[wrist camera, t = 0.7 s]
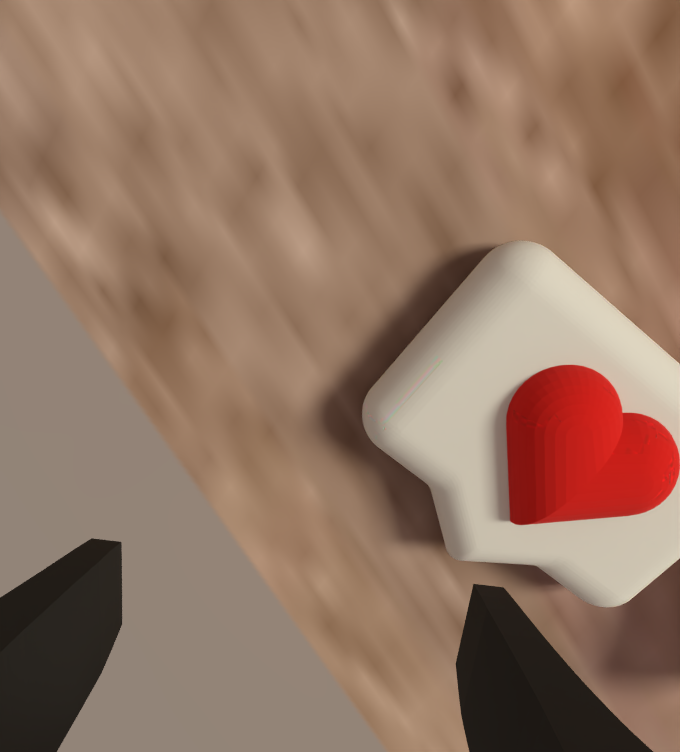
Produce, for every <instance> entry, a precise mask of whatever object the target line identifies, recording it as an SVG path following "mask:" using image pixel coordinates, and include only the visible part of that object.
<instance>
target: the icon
mask: <svg viewBox="0 0 680 752" xmlns="http://www.w3.org/2000/svg"><path fill="white" fill-rule="evenodd" d="M362 420H363V425H364V428H365V431H366V433H367V435H368V437H369V438H370V439H371V441H372V442H373V443H374V444H375V445H376V446H377V447H378V448H380V449H381V450H382V451H384V452H385V453H386V454H388V455H389V456H390V457H392V458H393V459H394V460H396V461H397V462H398V463H400V464H401V465H402V466H404V467H405V468H406V469H408V470H409V471H410V472H412V473H413V474H414V475H416V476H417V477H418V478H420V479H421V480H422V481H424V482H425V483H426V484H427V485H428V486H429V487H430V489H431V493H432V497H433V500H434V504H435V508H436V512H437V516H438V519H439V523H440V527H441V531H442V535H443V538H444V542H445V546H446V550H447V552H448V553H449V555H450V556H451V557H453V558H454V559H456V560H460V561H475V562H492V563H509V564H525V565H535V566H537V567H539V568H540V569H541V570H543V571H544V572H545V573H547V574H548V575H549V576H551V577H552V578H553V579H555V580H556V581H557V582H559V583H560V584H561V585H563V586H564V587H565V588H567V589H568V590H569V591H571V592H572V593H573V594H575V595H576V596H577V597H579V598H580V599H582V600H583V601H585V602H587V603H589V604H592V605H595V606H599V607H616V606H620V605H622V604H624V603H626V602H628V601H630V600H631V599H632V598H633V597H634V596H635V595H637V594H638V593H639V592H640V591H641V590H643V589H644V588H645V587H646V586H647V585H649V584H650V583H651V582H652V581H653V580H654V579H656V578H657V577H658V576H659V575H660V574H662V573H663V572H664V571H665V570H666V569H668V568H669V567H670V566H671V565H672V564H674V563H675V562H676V561H677V560H678V559H679V558H680V364H679V363H678V362H677V361H676V360H674V359H673V358H672V357H671V356H670V355H669V354H668V353H667V352H665V351H664V350H663V349H662V348H661V347H660V346H659V345H657V344H656V343H655V342H654V341H653V340H652V339H651V338H649V337H648V336H647V335H646V334H645V333H644V332H643V331H641V330H640V329H639V328H638V327H637V326H636V325H635V324H633V323H632V322H631V321H630V320H629V319H628V318H627V317H625V316H624V315H623V314H622V313H621V312H620V311H619V310H618V309H616V308H615V307H614V306H613V305H612V304H611V303H610V302H608V301H607V300H606V299H605V298H604V297H603V296H602V295H600V294H599V293H598V292H597V291H596V290H595V289H594V288H592V287H591V286H590V285H589V284H588V283H587V282H586V281H584V280H583V279H582V278H581V277H580V276H579V275H578V274H576V273H575V272H574V271H573V270H572V269H571V268H570V267H568V266H567V265H566V264H565V263H564V262H563V261H562V260H561V259H559V258H558V257H557V256H556V255H555V254H554V253H553V252H551V251H550V250H549V249H547V248H546V247H544V246H542V245H540V244H537V243H534V242H530V241H512V242H508V243H505V244H502V245H500V246H498V247H496V248H494V249H493V250H492V251H490V252H489V253H488V254H487V255H486V256H485V257H484V258H483V259H482V260H481V262H480V263H479V264H478V265H477V266H476V267H475V268H474V270H473V271H472V272H471V273H470V274H469V275H468V277H467V278H466V279H465V280H464V281H463V282H462V284H461V285H460V286H459V287H458V288H457V289H456V290H455V292H454V293H453V294H452V295H451V296H450V297H449V299H448V300H447V301H446V302H445V303H444V304H443V306H442V307H441V308H440V309H439V310H438V311H437V312H436V314H435V315H434V316H433V317H432V318H431V319H430V321H429V322H428V323H427V324H426V325H425V326H424V327H423V329H422V330H421V331H420V332H419V333H418V334H417V336H416V337H415V338H414V339H413V340H412V341H411V343H410V344H409V345H408V346H407V347H406V348H405V349H404V351H403V352H402V353H401V354H400V355H399V356H398V358H397V359H396V360H395V361H394V362H393V363H392V365H391V366H390V367H389V368H388V369H387V370H386V371H385V373H384V374H383V375H382V376H381V377H380V378H379V380H378V381H377V382H376V383H375V384H374V385H373V386H372V388H371V389H370V390H369V392H368V393H367V395H366V398H365V400H364V403H363V409H362Z"/></svg>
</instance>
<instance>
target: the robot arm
mask: <svg viewBox="0 0 680 752" xmlns="http://www.w3.org/2000/svg"><path fill="white" fill-rule="evenodd" d="M121 555H122V554H121V542H116V541H107V540H99V539H90V540H89V541H87V542H86V543H84V544H82V545H81V546H79V547H77V548H76V549H74V550H73V551H71V552H70V553H68V554H67V555H65V556H64V557H62V558H61V559H59V560H58V561H56V562H55V563H53V564H52V565H50V566H49V567H47V568H46V569H44V570H43V571H41V572H39V573H38V574H36V575H35V576H33V577H32V578H30V579H29V580H27V581H26V582H24V583H23V584H21V585H19V586H18V587H16V588H15V589H13V590H12V591H10V592H8V593H7V594H5V595H4V596H2V597H1V598H0V752H57V750H58V748H59V747H60V745H61V743H62V741H63V739H64V738H65V736H66V734H67V733H68V731H69V729H70V728H71V726H72V724H73V722H74V720H75V719H76V717H77V715H78V714H79V712H80V710H81V708H82V707H83V705H84V703H85V701H86V699H87V697H88V696H89V694H90V692H91V691H92V689H93V687H94V685H95V684H96V682H97V680H98V678H99V676H100V674H101V673H102V670H103V668H104V666H105V663H106V661H107V659H108V657H109V654H110V652H111V650H112V647H113V645H114V642H115V640H116V638H117V635H118V632H119V630H120V628H121V625H122V566H121V565H122V556H121ZM456 670H457V680H458V690H459V699H460V707H461V715H462V720H463V725H464V730H465V734H466V738H467V743H468V747H469V752H653V751H652V750H651V749H649V748H648V747H647V746H646V745H645V744H644V743H643V742H642V741H641V740H640V739H639V738H638V737H637V736H635V735H634V734H633V733H632V732H631V731H630V730H629V729H628V728H627V727H626V726H625V725H624V724H623V723H622V722H621V721H620V720H619V719H618V718H617V717H616V716H615V715H614V714H613V713H612V712H611V711H610V710H609V709H608V708H607V707H606V706H605V705H604V704H603V703H602V702H601V701H600V699H599V698H598V697H597V696H596V695H595V694H594V693H593V692H592V691H591V690H590V689H589V688H588V687H587V686H586V685H585V684H584V682H583V681H582V680H581V679H580V678H579V677H578V676H577V675H576V674H575V673H574V671H573V670H572V669H571V668H570V667H569V666H568V665H567V663H566V662H565V661H564V660H563V659H562V658H561V657H560V655H559V654H558V653H557V652H556V651H555V650H554V648H553V647H552V646H551V645H550V644H549V642H548V641H547V640H546V639H545V638H544V636H543V635H542V634H541V633H540V632H539V630H538V629H537V628H536V627H535V625H534V624H533V623H532V622H531V621H530V619H529V618H528V617H527V616H526V614H525V613H524V612H523V611H522V609H521V608H520V607H519V606H518V604H517V603H516V602H515V601H514V599H513V598H512V597H511V596H510V595H509V593H508V592H507V591H506V590H505V589H504V588H503V587H495V586H486V585H478V584H474V585H473V589H472V594H471V598H470V603H469V607H468V612H467V616H466V620H465V625H464V629H463V634H462V638H461V643H460V647H459V652H458V656H457V661H456Z"/></svg>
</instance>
